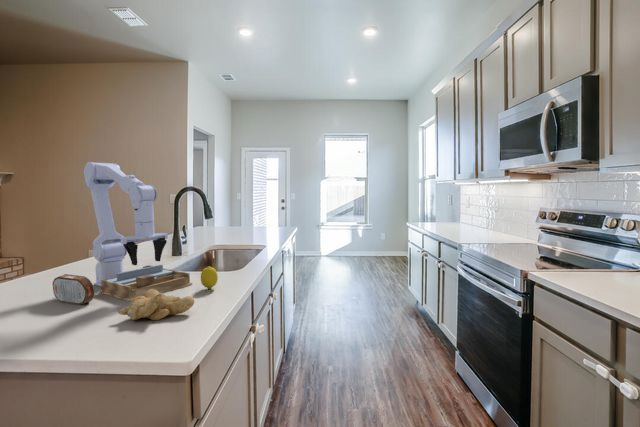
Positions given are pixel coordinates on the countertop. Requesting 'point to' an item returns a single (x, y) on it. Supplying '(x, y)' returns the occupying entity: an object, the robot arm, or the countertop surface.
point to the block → (145, 280)
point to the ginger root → (156, 305)
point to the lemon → (209, 277)
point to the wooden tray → (161, 285)
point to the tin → (73, 289)
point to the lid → (139, 274)
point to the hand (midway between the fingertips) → (146, 262)
